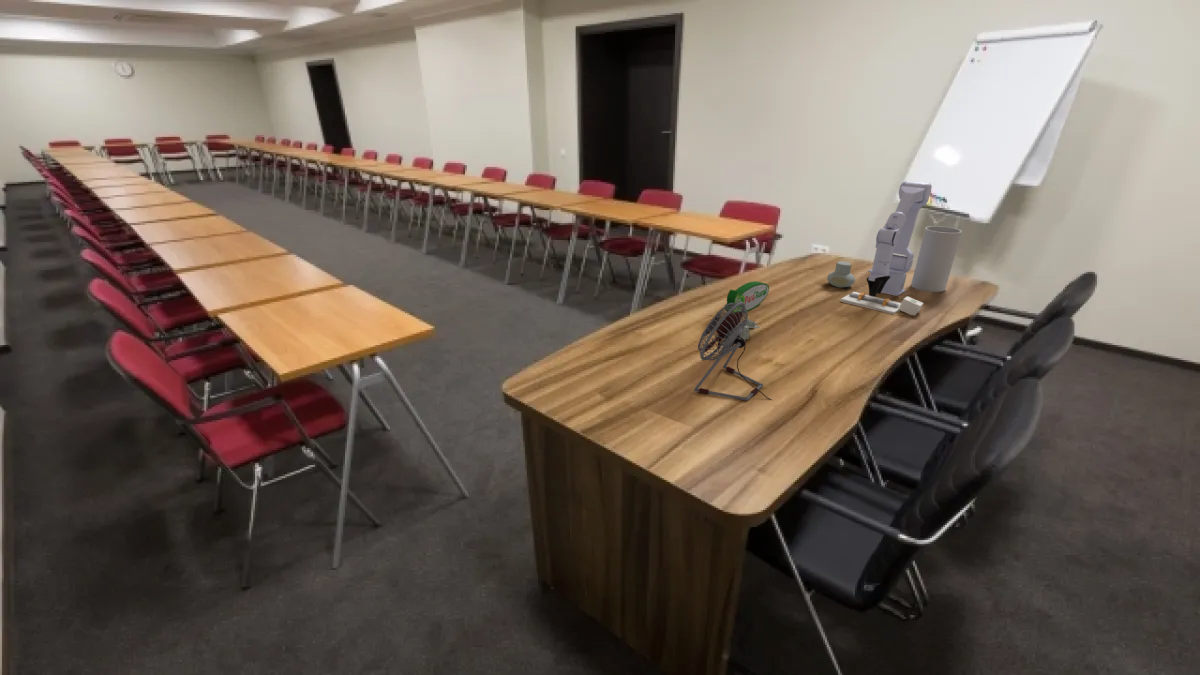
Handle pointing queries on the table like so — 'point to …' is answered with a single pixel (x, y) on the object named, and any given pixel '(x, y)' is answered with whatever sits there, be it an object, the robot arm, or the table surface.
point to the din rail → (874, 300)
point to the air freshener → (841, 275)
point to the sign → (748, 295)
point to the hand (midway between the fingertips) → (874, 294)
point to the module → (910, 306)
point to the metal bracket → (747, 329)
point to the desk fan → (725, 344)
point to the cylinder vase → (935, 258)
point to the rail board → (871, 303)
